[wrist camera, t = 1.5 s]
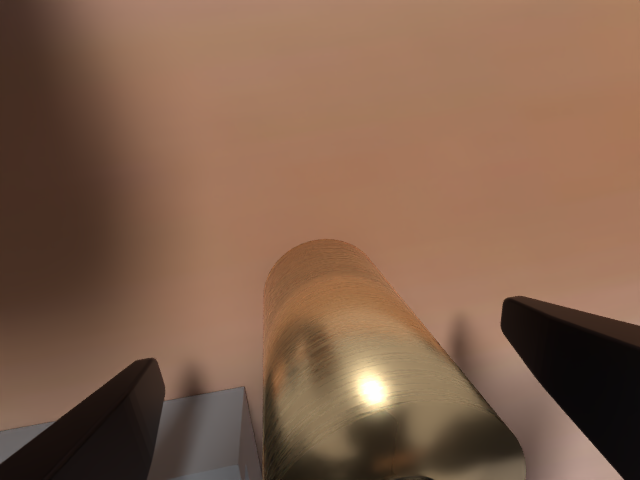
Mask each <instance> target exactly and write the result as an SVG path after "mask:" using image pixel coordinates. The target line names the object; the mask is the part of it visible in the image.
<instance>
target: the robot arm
mask: <svg viewBox="0 0 640 480" xmlns="http://www.w3.org/2000/svg"><path fill="white" fill-rule="evenodd" d="M501 329H502V332H503V334H504V335H505V337H506V338H507V339H508V341H509V342H510V344H511V345H512V346H513V348H514V349H515V350H516V352H517V353H518V354H519V356H520V357H521V359H522V360H523V361H524V363H525V364H526V365H527V367H528V368H529V370H530V371H531V372H532V374H533V375H534V376H535V378H536V379H537V380H538V381H539V383H540V384H541V385H542V386H543V387H544V389H545V390H546V391H547V392H548V393H549V394H550V396H551V397H552V398H553V399H554V400H555V401H556V402H557V404H558V405H559V406H560V407H561V408H562V409H563V410H564V412H565V413H566V414H567V415H568V416H569V417H570V418H571V420H572V421H573V422H574V423H575V424H576V425H577V426H578V428H579V429H580V430H581V431H582V432H583V433H584V434H585V436H586V437H587V438H588V439H589V440H590V441H591V442H592V444H593V445H594V446H595V447H596V448H597V449H598V450H599V452H600V453H601V454H602V455H603V456H604V457H605V458H606V460H607V461H608V462H609V463H610V464H611V465H612V466H613V468H614V469H615V470H616V471H617V472H618V473H619V474H620V476H621V477H622V478H623V479H624V480H640V326H638V325H634V324H630V323H626V322H622V321H618V320H614V319H610V318H606V317H602V316H599V315H595V314H591V313H587V312H583V311H579V310H575V309H571V308H567V307H563V306H559V305H555V304H551V303H547V302H543V301H540V300H536V299H532V298H528V297H524V296H515V297H509V298H506V299H505V300H504V302H503V306H502V315H501ZM164 397H165V385H164V382H163V378H162V375H161V372H160V368H159V365H158V362H157V360H156V359H154V358H147V359H141V360H137V361H135V362H133V363H132V364H131V365H129V366H128V367H127V368H125V369H124V370H123V371H121V372H120V373H119V374H118V375H116V376H115V377H114V378H112V379H111V380H110V381H108V382H107V383H106V384H104V385H103V386H102V387H100V388H99V389H98V390H97V391H95V392H94V393H93V394H91V395H90V396H89V397H87V398H86V399H85V400H83V401H82V402H81V403H79V404H78V405H77V406H75V407H74V408H73V409H72V410H70V411H69V412H68V413H66V414H65V415H64V416H62V417H61V418H60V419H58V420H57V421H56V422H54V423H53V424H52V425H50V426H49V427H48V428H47V429H45V430H44V431H43V432H41V433H40V434H39V435H37V436H36V437H35V438H33V439H32V440H31V441H29V442H28V443H27V444H26V445H24V446H23V447H22V448H20V449H19V450H18V451H16V452H15V453H14V454H12V455H11V456H10V457H8V458H7V459H6V460H4V461H3V462H2V463H1V464H0V480H147V478H148V474H149V471H150V467H151V463H152V459H153V455H154V450H155V445H156V439H157V434H158V429H159V424H160V418H161V413H162V408H163V403H164Z"/></svg>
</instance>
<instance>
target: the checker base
mask: <svg viewBox="0 0 640 480" xmlns="http://www.w3.org/2000/svg"><path fill="white" fill-rule="evenodd" d="M54 422H56V421H54ZM54 422H49V423H43V424H38V425H32V426H27V427H21V428H16V429H11V430H5V431H0V464H1V463H2V462H3V461H4V460H6V459H7V458H8V457H10V456H11V455H12V454H14V453H15V452H16V451H18V450H19V449H20V448H22V447H23V446H24V445H26V444H27V443H28V442H29V441H31V440H32V439H33V438H35V437H36V436H37V435H39V434H40V433H41V432H43V431H44V430H45V429H47V428H48V427H49V426H50V425H52V424H53V423H54ZM147 480H263V478H262V473H261V468H260V463H259V458H258V453H257V448H256V443H255V438H254V433H253V428H252V423H251V418H250V413H249V408H248V403H247V398H246V393H245V388H244V387H239V388H234V389H228V390H223V391H217V392H212V393H206V394H201V395H195V396H190V397H185V398H179V399H174V400H168V401H164V403H163V408H162V413H161V418H160V424H159V429H158V434H157V439H156V445H155V450H154V455H153V459H152V463H151V467H150V471H149V474H148V478H147Z"/></svg>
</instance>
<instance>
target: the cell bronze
mask: <svg viewBox="0 0 640 480" xmlns="http://www.w3.org/2000/svg"><path fill="white" fill-rule="evenodd" d="M525 477H526V465H525V458H524V454H523V451H522V448H521V446H520V444H519V442H518V440H517V438H516V437H515V436H514V434H513V433H512V432H511V431H510V430H509V428H508V427H507V426H506V425H505V423H504V422H503V421H502V420H501V419H500V417H499V416H498V415H497V414H496V412H495V411H494V410H493V409H492V408H491V406H490V405H489V404H488V403H487V402H486V400H485V399H484V398H483V397H482V395H481V394H480V393H479V392H478V391H477V389H476V388H475V387H474V386H473V384H472V383H471V382H470V381H469V380H468V378H467V377H466V376H465V375H464V374H463V372H462V371H461V370H460V369H459V367H458V366H457V365H456V364H455V363H454V361H453V360H452V359H451V358H450V357H449V355H448V354H447V353H446V352H445V350H444V349H443V348H442V347H441V346H440V344H439V343H438V342H437V341H436V339H435V338H434V337H433V336H432V335H431V333H430V332H429V331H428V330H427V329H426V327H425V326H424V325H423V324H422V322H421V321H420V320H419V319H418V318H417V316H416V315H415V314H414V313H413V311H412V310H411V309H410V308H409V307H408V305H407V304H406V303H405V302H404V301H403V299H402V298H401V297H400V296H399V294H398V293H397V292H396V291H395V290H394V288H393V287H392V286H391V285H390V283H389V282H388V281H387V280H386V279H385V277H384V276H383V275H382V274H381V273H380V271H379V270H378V269H377V268H376V266H375V265H374V264H373V263H372V262H371V260H370V259H369V258H368V257H367V255H365V254H364V253H363V252H362V251H361V250H359V249H358V248H356V247H355V246H353V245H351V244H349V243H346V242H343V241H338V240H331V239H321V240H314V241H309V242H306V243H303V244H301V245H299V246H297V247H295V248H293V249H291V250H290V251H288V252H287V253H286V254H285V255H283V256H282V257H281V258H280V259H279V260H278V261H277V262H276V264H275V265H274V267H273V268H272V269H271V271H270V273H269V275H268V277H267V280H266V283H265V288H264V314H263V480H525Z"/></svg>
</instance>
